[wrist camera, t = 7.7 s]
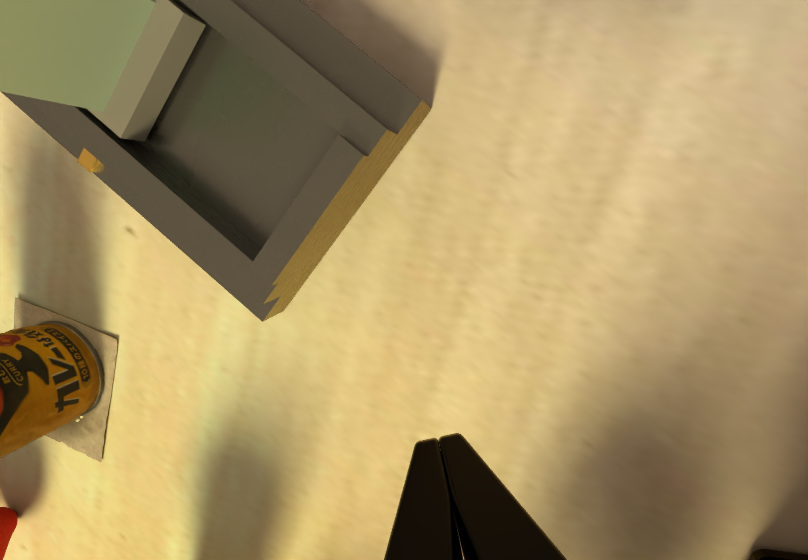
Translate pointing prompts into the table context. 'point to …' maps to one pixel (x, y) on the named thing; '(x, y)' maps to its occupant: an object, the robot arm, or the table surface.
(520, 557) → the robot arm
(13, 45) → the fader tab
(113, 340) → the condiment
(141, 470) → the table surface
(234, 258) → the rail
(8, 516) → the strawberry
